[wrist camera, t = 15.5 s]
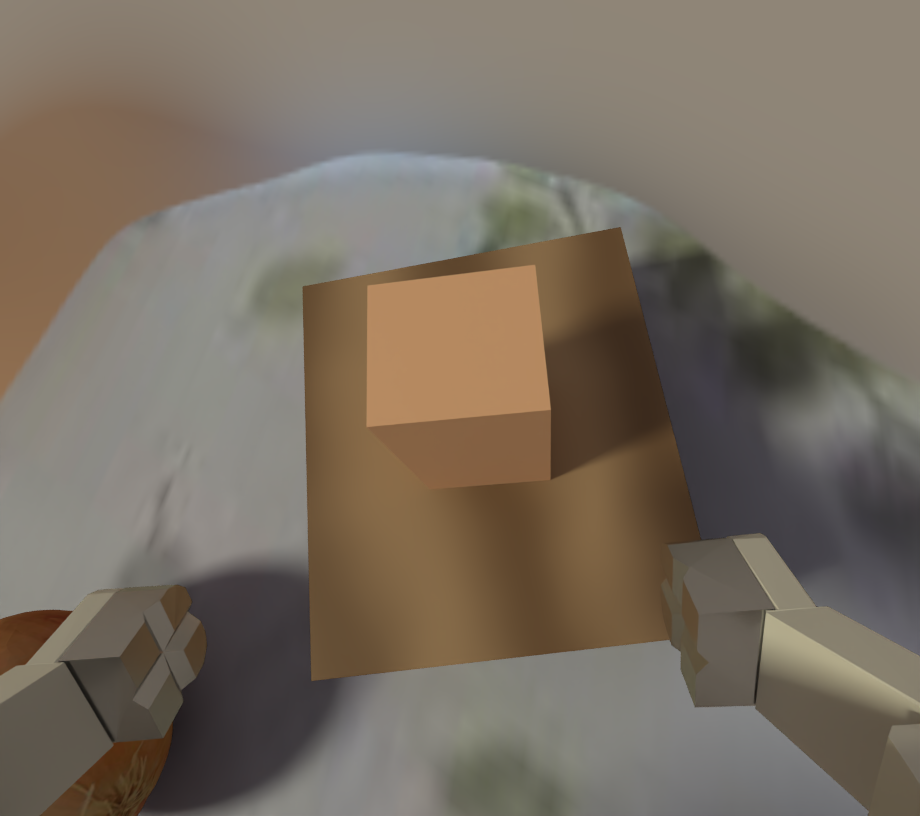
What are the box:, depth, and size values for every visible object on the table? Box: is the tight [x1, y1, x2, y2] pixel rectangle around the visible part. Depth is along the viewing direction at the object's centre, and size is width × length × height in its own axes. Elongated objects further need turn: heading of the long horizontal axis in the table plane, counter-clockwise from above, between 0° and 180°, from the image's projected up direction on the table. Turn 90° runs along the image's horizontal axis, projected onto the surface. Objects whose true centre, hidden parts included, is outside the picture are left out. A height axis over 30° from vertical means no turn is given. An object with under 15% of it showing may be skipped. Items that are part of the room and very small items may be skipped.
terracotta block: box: [366, 265, 551, 489], centre depth 18 cm, size 4×4×8 cm
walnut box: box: [303, 227, 701, 681], centre depth 25 cm, size 14×16×6 cm
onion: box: [0, 610, 173, 816], centre depth 21 cm, size 10×10×10 cm
